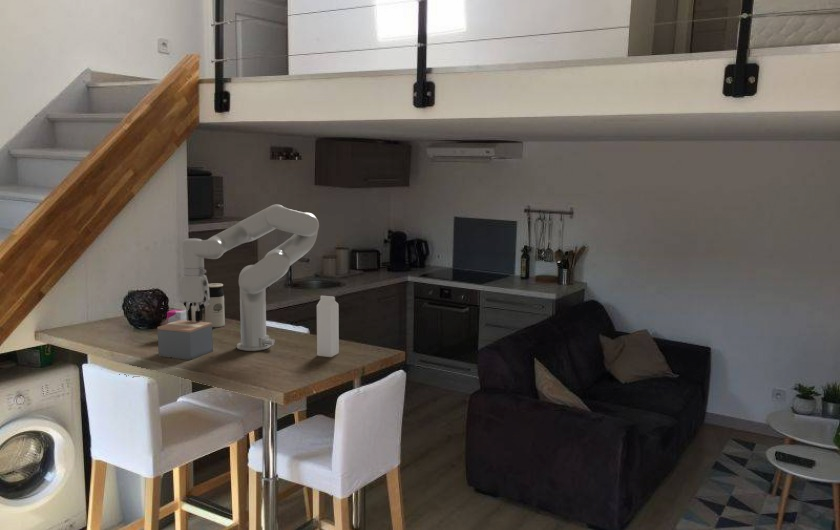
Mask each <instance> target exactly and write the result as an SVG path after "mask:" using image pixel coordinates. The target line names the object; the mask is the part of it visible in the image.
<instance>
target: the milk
mask: <svg viewBox="0 0 840 530" xmlns="http://www.w3.org/2000/svg"><path fill="white" fill-rule="evenodd" d="M339 306H340V305H339V303H338V302H337V301H336V297H335V296H334V295H333V296H331V295H330V296H329V295H320V300H319V301H318V303H317V304H316V356H318V357H327V358H333V357H335V356H336V355H338V354H339V353H340V350H339V349H340V346H339V345H340V340H339V338H340V337H339V336H340V334H339V333H340V332H339V323H340V321H339V320H340V318H339V317H340V316H339V311H340V310H339Z"/></svg>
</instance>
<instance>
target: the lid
mask: <svg viewBox="0 0 840 530" xmlns="http://www.w3.org/2000/svg"><path fill="white" fill-rule="evenodd" d="M191 311H192V320H191V321H189V320H178V321H175V322H171V323H168V324H167V323H165V324H162V325H160V326H157V327H156V328H157V330H158V329H160V330H169V331H179V332H189V333H190V332H193V331H196V330H199V329H202V328H205V327H208V326H211V325H212V323H208V322H206V321H198V322H196V318H195V311H197V309H196V305H194V304H193V305H192V306H191Z"/></svg>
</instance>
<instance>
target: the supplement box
mask: <svg viewBox="0 0 840 530" xmlns="http://www.w3.org/2000/svg"><path fill="white" fill-rule="evenodd" d="M187 319H188V315H187V310H186V309H172V310H170V311H167V312H166V320H167V321H166V322H167V323H166V324H168V323H171V322H175V321H178V320H187Z"/></svg>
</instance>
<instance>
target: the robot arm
mask: <svg viewBox="0 0 840 530" xmlns="http://www.w3.org/2000/svg"><path fill="white" fill-rule="evenodd" d="M319 228H320V223H319V220H318V218H317V217H316V215H315V214H314V213H312V212H307V211H305V212H303V211H298V210H294V209H290V208H287V207H285V206H283V205H281V204H277V203H276V204H272V205H270V206H268V207H266V208H264V209H262V210H260V211H258V212H256V213H254V214H253V215H250V216H248V217H246V218H244V219H243V220H240V221H238V222H237V223H236V224H234V225H232V226H230V227H228V228H226V229H224V230H223V231H220V232H218V233H217V234H214V235H212V236H211V237H209V238H208V239H201V238H196V237H194V238H186V239H183V240H182V242H181V250H182V251H181V252H182V253H181V254H182V276H181V280H180V288H179V289H180V291H179V292H180V295H179V296H180V299H179V303H180V304H181V305H183V306H184V307H185V310H186V311H187V319H188V321H192V311H191V306H192V305H194V303H195V306H196V309H197V311H195V318H196V322H198V321H199V322H202V321H203V310H205V306H207V305H209V304H210V302H209V299H210V294H209V285H208V284H209V281H208V277H207V269H205V259H210V260H217V259H219V258H221V257H222V256H223V255H224V253H226V252H227V251H230V250H232V249H233V248H236V247H239V246H240V245H242V244H245V243H250V242H254V241H255V240H258V239H259V238H261V237H263V236H265V235H267V234H269V233H270V232H272V231H274V230H279V231H282V232H285V233H290V234H292V235H291V237H289V238H288V239H286V240H285V241H284V242H283V243H281V244H280V245H278V246H276V247H275V248H273V249H272V250H270V251H268V252H267V253H266V254H265V255H264V257H263V258H262V259H260V260H259V261H258V262H256V263H255V264H249V265H246V266H244V267H243V268H242V270H240V273H239V276H238V286H239V311H240V312H239V313H240V316H239V317H240V342H238V343H237V344H236V349H238V350H240V351H245V352H257V351H264V350H267V349H269V348H270V347H271V346H274V345H275V342H276V339H275V338H270V335H269V334H267V311H266V309H267V300H266V299H267V298H266V295H267V292H266V291H267V290H266V289H267V288H268V287H270V286H272V284H275V283H276V282H277V281H278V280H280V279H281V278H282V277H284V276H285V275H286V274H287V273H288V271H289V270H290V266H292V265H293V264H294V263H296V262H298V260H299V259H301V258H302V257H304V256H305V255H306V254H308V253H309V252H310V250H312V248H313V247H314V246H315V243H316V240H317V237H318V233H319Z"/></svg>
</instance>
